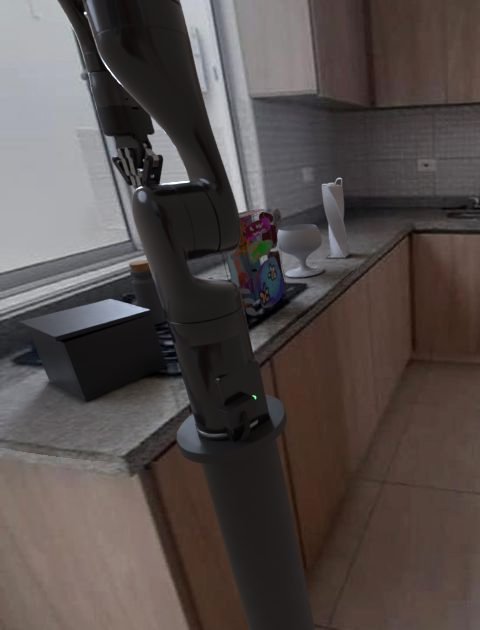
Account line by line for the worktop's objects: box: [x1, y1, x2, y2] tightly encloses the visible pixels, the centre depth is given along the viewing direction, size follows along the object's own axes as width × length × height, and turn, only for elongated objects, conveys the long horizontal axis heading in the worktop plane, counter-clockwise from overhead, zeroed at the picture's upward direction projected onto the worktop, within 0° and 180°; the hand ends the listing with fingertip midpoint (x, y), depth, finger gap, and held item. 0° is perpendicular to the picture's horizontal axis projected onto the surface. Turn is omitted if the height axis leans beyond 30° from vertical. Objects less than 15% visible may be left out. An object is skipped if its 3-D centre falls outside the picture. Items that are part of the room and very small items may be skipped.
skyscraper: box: [321, 177, 351, 260], centre depth 159 cm, size 8×8×28 cm
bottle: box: [128, 259, 167, 326], centre depth 107 cm, size 6×6×15 cm
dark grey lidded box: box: [27, 314, 167, 402], centre depth 82 cm, size 14×15×11 cm
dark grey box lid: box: [18, 298, 151, 341], centre depth 79 cm, size 15×15×1 cm
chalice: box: [277, 223, 324, 278], centre depth 142 cm, size 14×14×15 cm
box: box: [221, 208, 288, 323], centre depth 112 cm, size 25×6×24 cm, turn 170°
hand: (150, 210), depth 80 cm, fingers closed
